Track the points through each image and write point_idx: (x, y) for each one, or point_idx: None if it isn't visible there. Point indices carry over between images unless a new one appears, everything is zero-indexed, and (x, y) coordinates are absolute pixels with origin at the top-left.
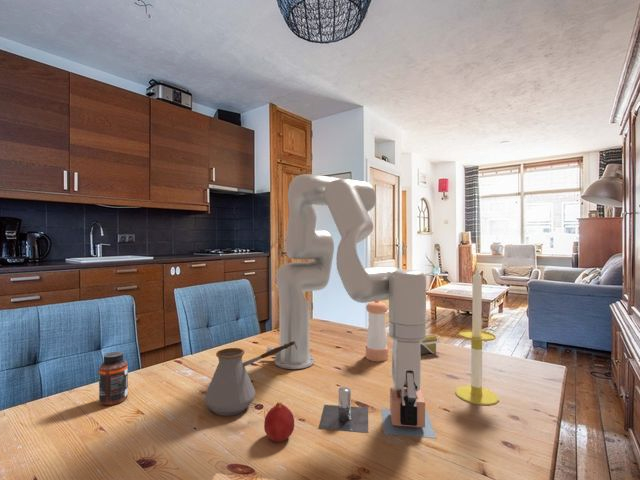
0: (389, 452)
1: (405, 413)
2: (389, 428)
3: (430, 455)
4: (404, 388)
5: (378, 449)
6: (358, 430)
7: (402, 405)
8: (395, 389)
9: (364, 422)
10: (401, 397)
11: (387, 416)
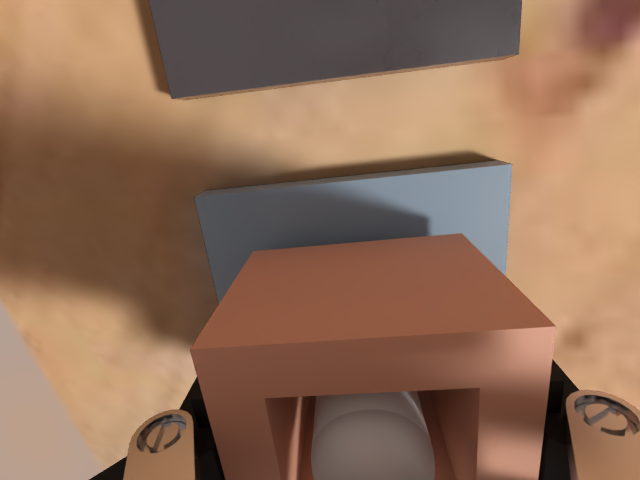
0: (105, 223)
1: (190, 389)
2: (264, 226)
3: (159, 383)
4: (510, 460)
5: (104, 168)
6: (170, 22)
7: (145, 422)
8: (472, 380)
9: (288, 53)
10: (340, 409)
11: (404, 210)
